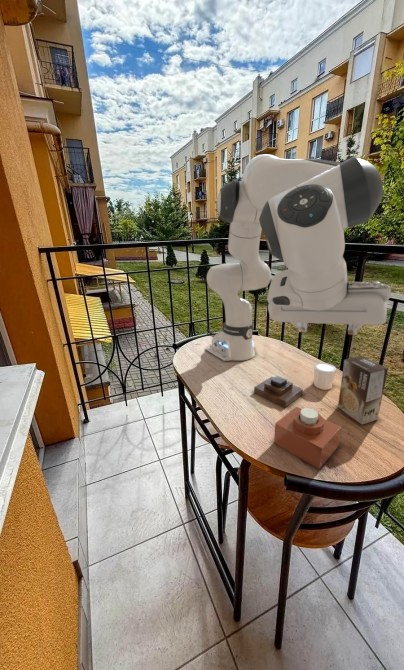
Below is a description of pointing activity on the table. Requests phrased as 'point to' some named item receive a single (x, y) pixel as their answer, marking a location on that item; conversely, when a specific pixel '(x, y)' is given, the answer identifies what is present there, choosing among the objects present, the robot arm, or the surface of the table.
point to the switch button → (278, 381)
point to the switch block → (278, 392)
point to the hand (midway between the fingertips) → (327, 330)
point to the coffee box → (362, 389)
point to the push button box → (307, 437)
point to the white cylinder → (324, 375)
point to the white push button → (308, 416)
